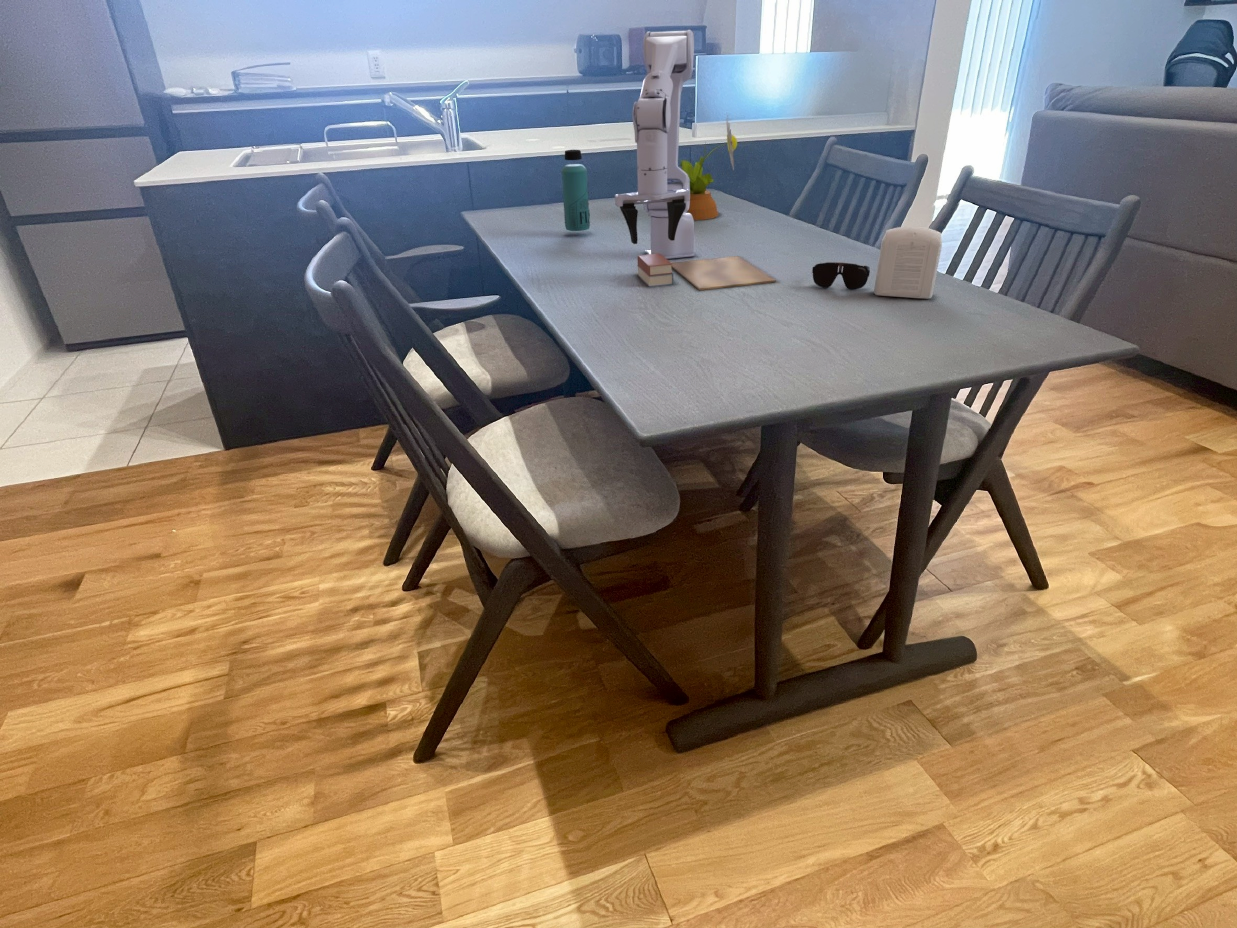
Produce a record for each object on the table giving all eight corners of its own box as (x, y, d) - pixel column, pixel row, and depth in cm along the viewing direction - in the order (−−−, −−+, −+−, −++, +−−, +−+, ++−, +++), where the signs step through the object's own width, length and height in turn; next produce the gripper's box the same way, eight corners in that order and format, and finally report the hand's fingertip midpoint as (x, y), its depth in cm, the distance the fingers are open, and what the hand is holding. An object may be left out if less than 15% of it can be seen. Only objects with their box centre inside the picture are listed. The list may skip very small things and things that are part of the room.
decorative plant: (739, 223, 193) (744, 118, 181) (647, 226, 194) (645, 121, 181) (727, 203, 216) (731, 109, 204) (645, 206, 217) (644, 112, 205)
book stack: (660, 273, 155) (660, 252, 153) (673, 284, 148) (673, 263, 145) (637, 275, 154) (637, 255, 152) (649, 287, 147) (649, 266, 144)
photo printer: (931, 293, 137) (944, 225, 131) (933, 300, 133) (945, 230, 127) (873, 290, 140) (883, 223, 134) (873, 297, 136) (882, 228, 130)
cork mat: (737, 257, 164) (737, 256, 163) (775, 282, 147) (775, 280, 146) (668, 264, 160) (668, 262, 160) (699, 290, 144) (699, 288, 143)
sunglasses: (809, 287, 142) (812, 261, 140) (816, 278, 152) (819, 253, 150) (866, 291, 139) (870, 264, 137) (869, 282, 149) (873, 256, 147)
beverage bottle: (581, 238, 184) (576, 152, 175) (559, 235, 188) (553, 151, 178) (595, 232, 189) (591, 148, 179) (574, 230, 192) (569, 147, 182)
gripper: (620, 174, 136) (622, 249, 142) (695, 168, 138) (694, 242, 145) (611, 168, 142) (613, 241, 148) (683, 163, 144) (682, 234, 151)
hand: (652, 241), depth 147 cm, fingers open, 7 cm apart
